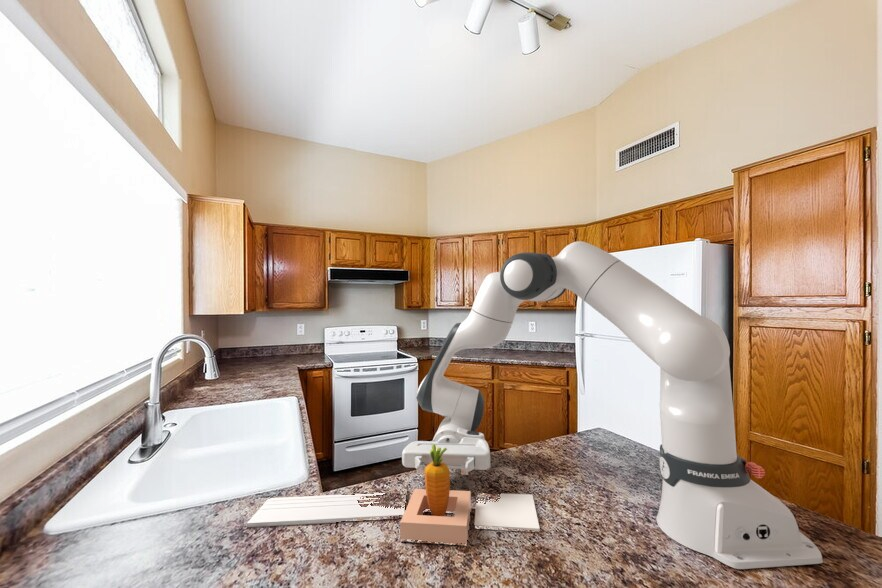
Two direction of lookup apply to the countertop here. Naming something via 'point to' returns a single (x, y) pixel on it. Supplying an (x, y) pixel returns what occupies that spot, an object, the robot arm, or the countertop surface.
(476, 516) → the plate
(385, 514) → the baseboard molding
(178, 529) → the countertop surface
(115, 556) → the countertop surface
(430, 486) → the carrot
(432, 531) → the holder ring
